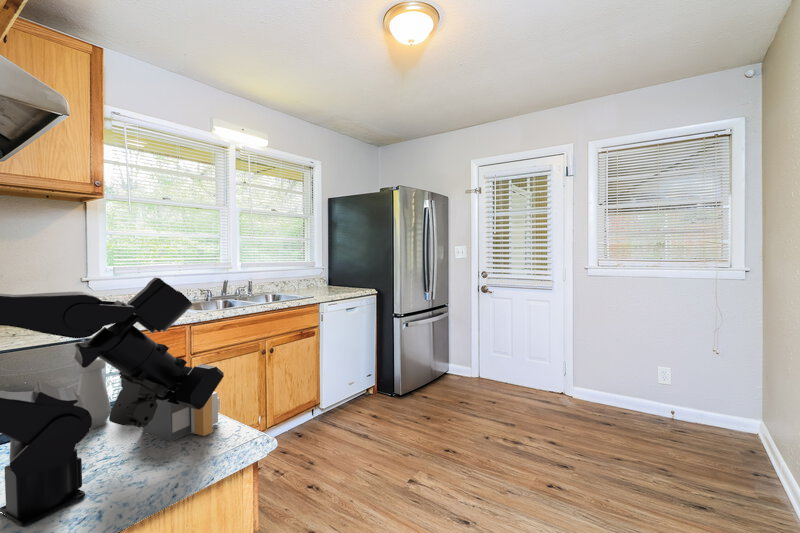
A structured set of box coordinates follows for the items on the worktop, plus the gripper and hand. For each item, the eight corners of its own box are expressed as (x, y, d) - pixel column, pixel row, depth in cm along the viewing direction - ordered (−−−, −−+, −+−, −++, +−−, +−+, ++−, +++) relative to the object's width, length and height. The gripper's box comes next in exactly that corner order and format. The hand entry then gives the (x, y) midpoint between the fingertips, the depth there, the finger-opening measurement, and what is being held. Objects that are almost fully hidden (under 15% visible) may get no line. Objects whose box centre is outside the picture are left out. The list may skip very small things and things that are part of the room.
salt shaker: (77, 434, 69) (75, 363, 69) (68, 426, 73) (66, 358, 72) (116, 423, 74) (114, 356, 73) (106, 415, 77) (104, 352, 77)
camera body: (174, 442, 66) (172, 384, 66) (142, 432, 70) (141, 378, 70) (213, 423, 74) (212, 371, 73) (183, 415, 77) (182, 366, 77)
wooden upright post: (203, 435, 68) (202, 388, 68) (191, 432, 69) (190, 385, 69) (227, 424, 72) (226, 379, 72) (215, 421, 74) (214, 377, 73)
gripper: (58, 396, 56) (139, 438, 66) (133, 418, 48) (212, 463, 58) (117, 333, 63) (181, 380, 73) (190, 343, 55) (252, 395, 65)
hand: (204, 403), depth 67 cm, fingers closed
